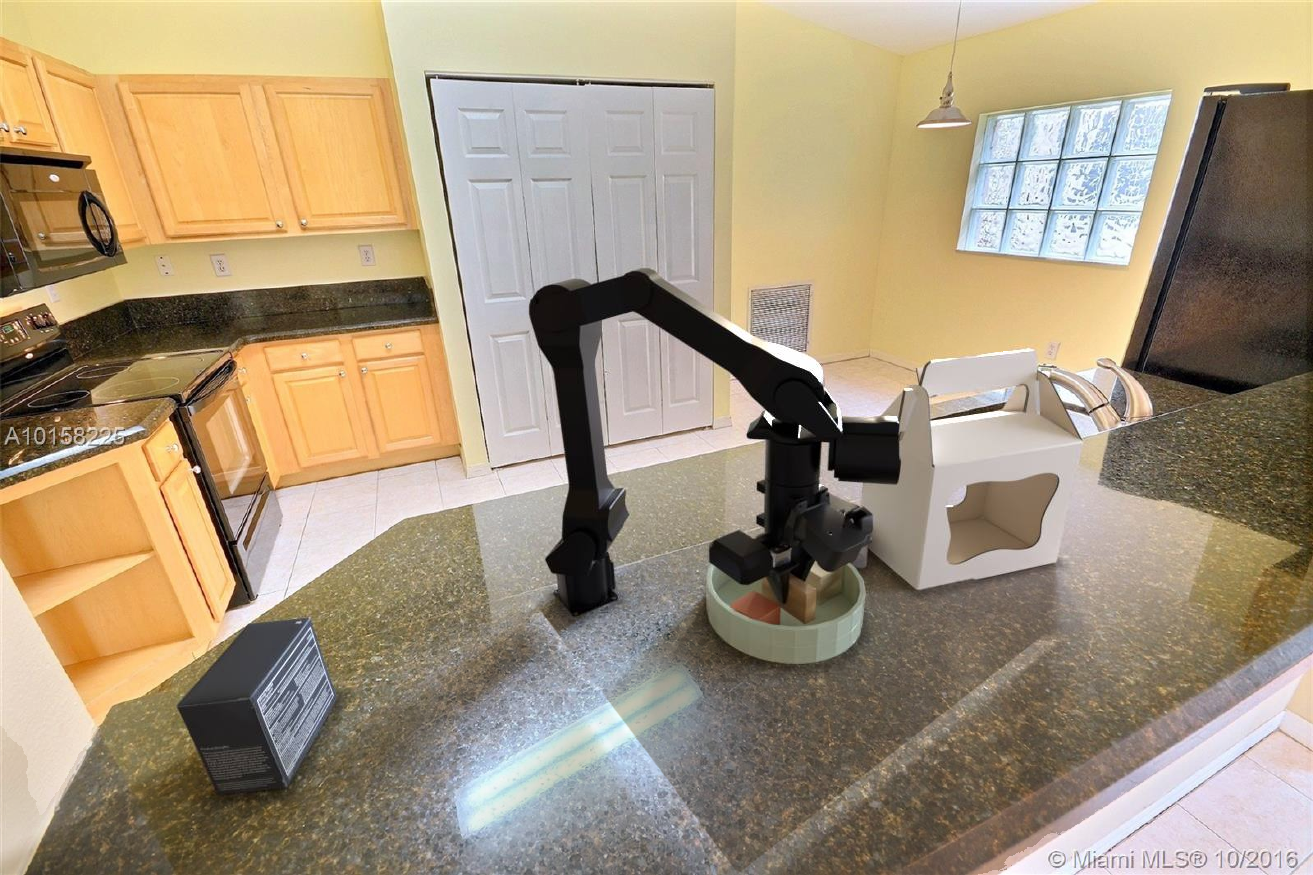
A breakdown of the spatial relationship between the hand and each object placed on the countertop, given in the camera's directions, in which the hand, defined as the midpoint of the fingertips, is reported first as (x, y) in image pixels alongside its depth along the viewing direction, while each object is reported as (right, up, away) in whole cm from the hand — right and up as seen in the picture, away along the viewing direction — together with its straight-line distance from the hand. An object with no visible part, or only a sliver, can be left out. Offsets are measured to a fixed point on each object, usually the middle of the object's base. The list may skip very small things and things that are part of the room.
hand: (787, 599), depth 67 cm
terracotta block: (-4, -4, -1) cm, 6 cm away
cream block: (+5, -1, +6) cm, 8 cm away
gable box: (+26, +2, +14) cm, 30 cm away
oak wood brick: (0, -1, 0) cm, 1 cm away
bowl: (0, -3, +3) cm, 4 cm away
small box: (-51, -11, -11) cm, 53 cm away
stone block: (+9, +3, +16) cm, 19 cm away
